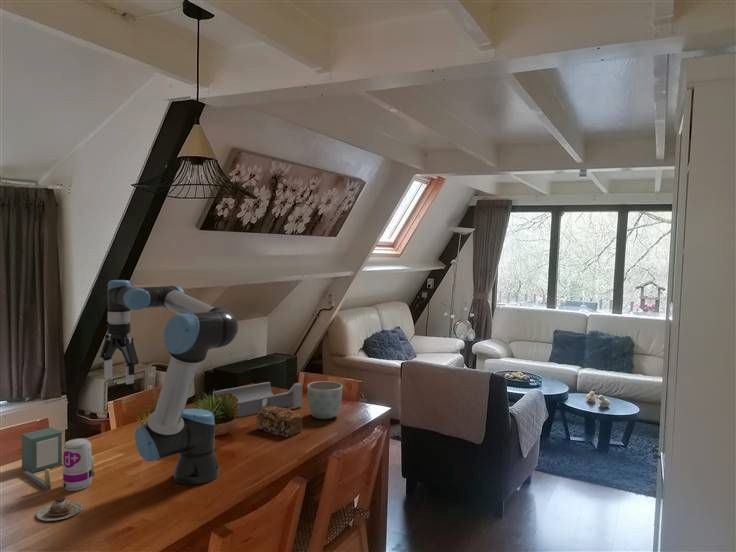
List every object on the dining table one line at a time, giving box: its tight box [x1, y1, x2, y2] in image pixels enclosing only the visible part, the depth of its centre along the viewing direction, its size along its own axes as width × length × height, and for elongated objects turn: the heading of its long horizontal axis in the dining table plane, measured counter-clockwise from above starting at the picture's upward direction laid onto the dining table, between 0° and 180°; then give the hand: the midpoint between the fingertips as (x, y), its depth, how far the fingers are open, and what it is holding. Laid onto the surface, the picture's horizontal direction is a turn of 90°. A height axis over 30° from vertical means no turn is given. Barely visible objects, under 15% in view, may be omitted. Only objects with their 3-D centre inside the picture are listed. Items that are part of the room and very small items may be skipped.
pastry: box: [36, 496, 83, 522], centre depth 162 cm, size 12×12×5 cm
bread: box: [256, 406, 303, 438], centre depth 239 cm, size 19×11×10 cm, turn 56°
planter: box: [306, 380, 343, 420], centre depth 260 cm, size 17×17×15 cm
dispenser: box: [21, 426, 95, 492], centre depth 189 cm, size 26×16×12 cm, turn 54°
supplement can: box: [62, 437, 92, 492], centre depth 179 cm, size 8×8×15 cm
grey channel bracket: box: [211, 381, 304, 418], centre depth 274 cm, size 33×32×13 cm
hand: (118, 380), depth 197 cm, fingers open, 13 cm apart
